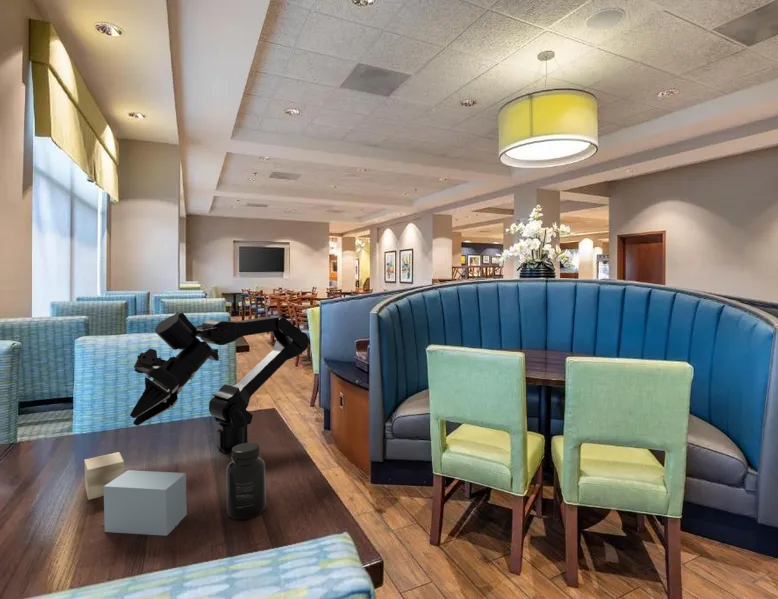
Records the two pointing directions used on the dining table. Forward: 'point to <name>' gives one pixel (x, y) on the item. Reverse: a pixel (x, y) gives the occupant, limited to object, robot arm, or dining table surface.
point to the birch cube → (101, 473)
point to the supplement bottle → (245, 482)
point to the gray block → (145, 502)
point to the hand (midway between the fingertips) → (133, 420)
